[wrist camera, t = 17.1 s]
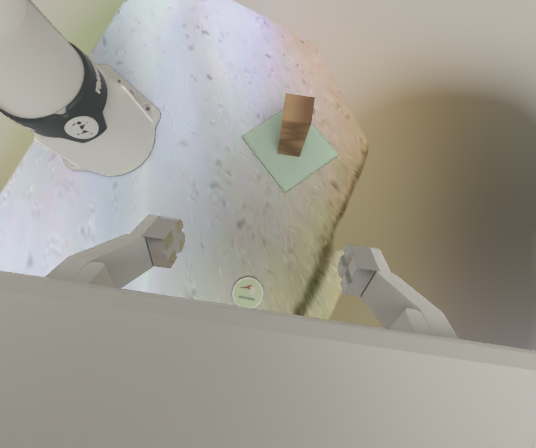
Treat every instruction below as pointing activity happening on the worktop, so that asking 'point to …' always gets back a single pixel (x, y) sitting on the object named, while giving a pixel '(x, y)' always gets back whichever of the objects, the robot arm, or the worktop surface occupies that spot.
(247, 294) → the sign
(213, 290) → the worktop surface
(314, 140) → the rubber mat
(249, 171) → the worktop surface
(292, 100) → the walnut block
